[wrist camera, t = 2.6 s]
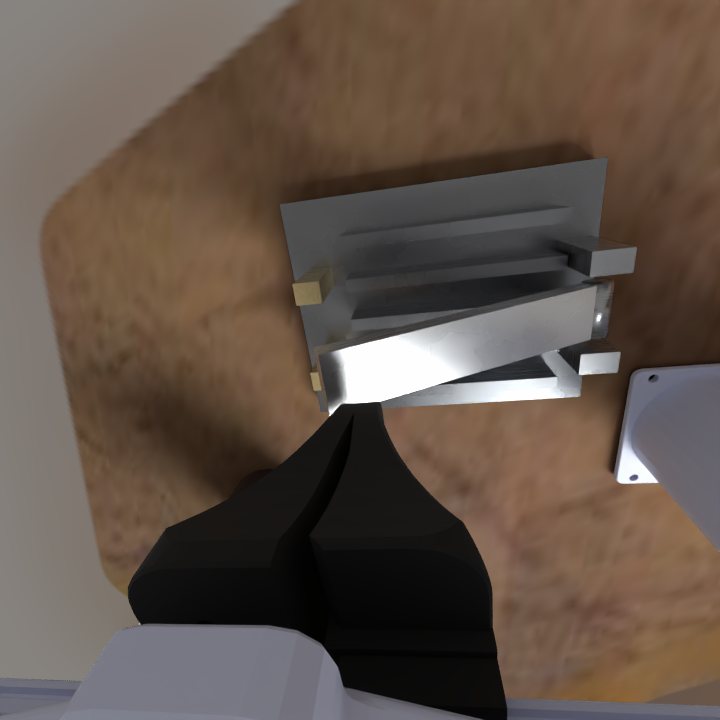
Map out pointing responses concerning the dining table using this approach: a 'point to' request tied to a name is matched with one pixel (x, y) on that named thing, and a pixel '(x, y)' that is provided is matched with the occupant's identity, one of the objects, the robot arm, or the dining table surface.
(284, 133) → the dining table surface
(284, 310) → the dining table surface
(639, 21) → the dining table surface
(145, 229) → the dining table surface
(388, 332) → the silver flat bar
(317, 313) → the heatsink
